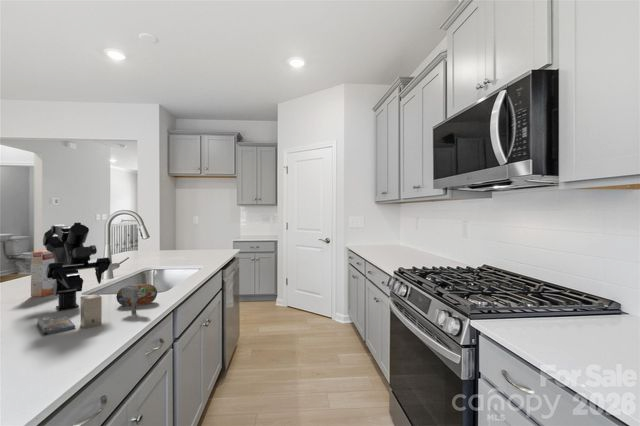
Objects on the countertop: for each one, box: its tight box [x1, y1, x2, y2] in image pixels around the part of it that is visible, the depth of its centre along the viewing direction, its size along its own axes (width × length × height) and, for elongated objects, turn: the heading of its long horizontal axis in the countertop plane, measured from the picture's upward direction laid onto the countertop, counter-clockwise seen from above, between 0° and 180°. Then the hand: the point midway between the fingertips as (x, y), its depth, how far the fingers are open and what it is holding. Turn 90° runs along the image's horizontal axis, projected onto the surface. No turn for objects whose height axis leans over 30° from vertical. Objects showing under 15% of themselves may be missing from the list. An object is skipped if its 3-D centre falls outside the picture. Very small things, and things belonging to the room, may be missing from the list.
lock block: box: [80, 293, 103, 329], centre depth 109 cm, size 5×5×10 cm
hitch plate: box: [36, 315, 76, 336], centre depth 107 cm, size 14×8×2 cm, turn 49°
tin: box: [116, 283, 158, 307], centre depth 133 cm, size 15×3×8 cm, turn 111°
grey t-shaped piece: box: [120, 285, 147, 314], centre depth 122 cm, size 3×10×10 cm, turn 79°
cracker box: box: [30, 249, 56, 298], centre depth 148 cm, size 14×6×21 cm, turn 179°
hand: (84, 285), depth 113 cm, fingers open, 9 cm apart
